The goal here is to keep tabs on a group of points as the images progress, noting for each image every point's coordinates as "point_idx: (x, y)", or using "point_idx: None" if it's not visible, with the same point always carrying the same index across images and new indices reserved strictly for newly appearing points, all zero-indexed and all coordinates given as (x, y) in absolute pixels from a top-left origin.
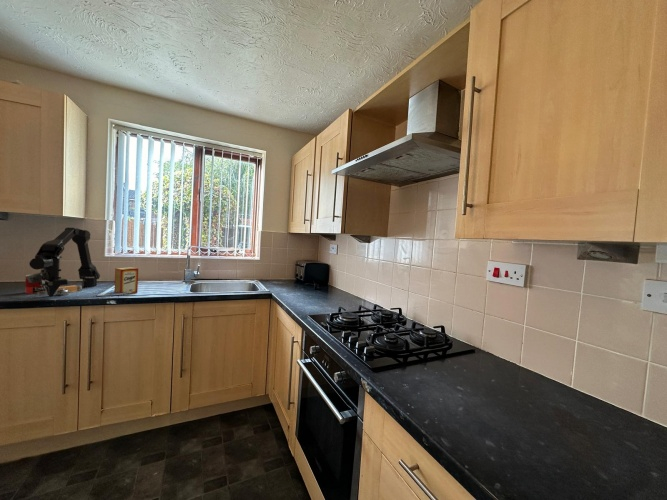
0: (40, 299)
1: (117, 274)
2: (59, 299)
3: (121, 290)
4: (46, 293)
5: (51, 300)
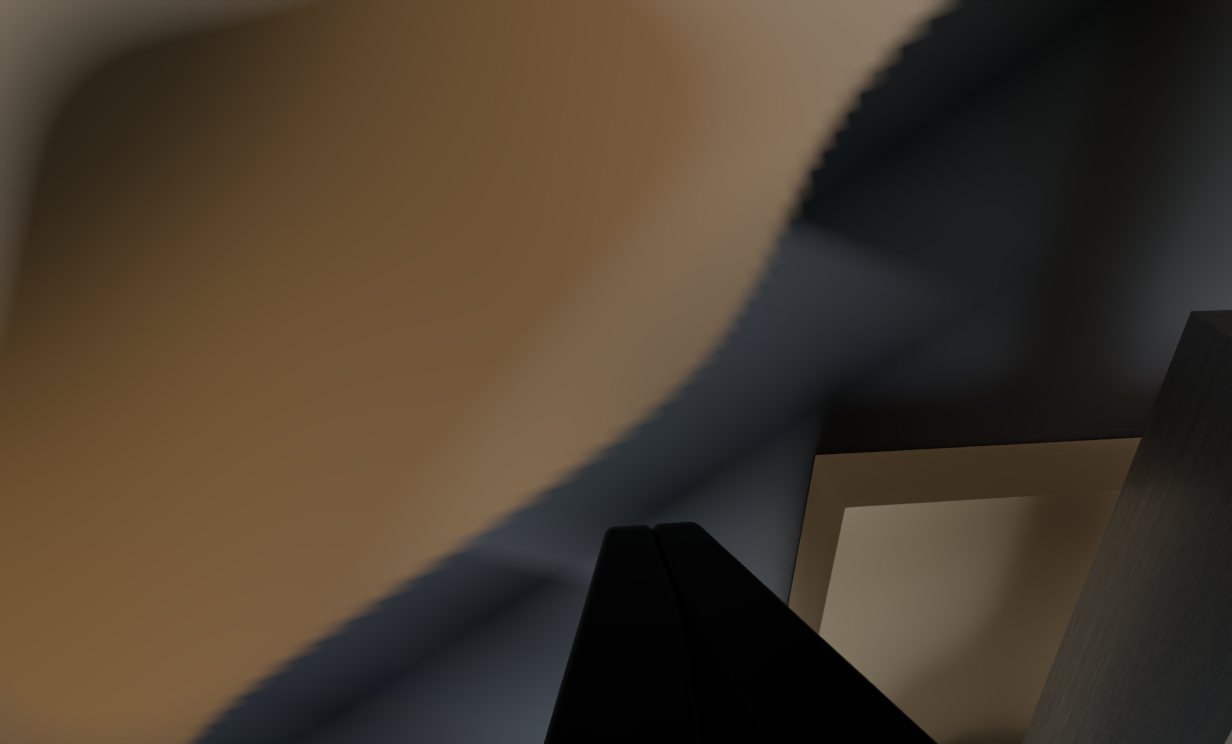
0: None
1: None
2: None
3: None
4: (1155, 626)
5: (679, 476)
